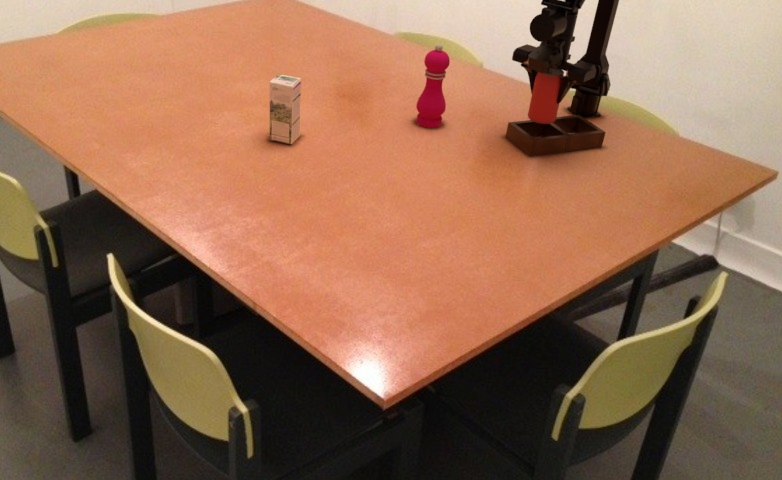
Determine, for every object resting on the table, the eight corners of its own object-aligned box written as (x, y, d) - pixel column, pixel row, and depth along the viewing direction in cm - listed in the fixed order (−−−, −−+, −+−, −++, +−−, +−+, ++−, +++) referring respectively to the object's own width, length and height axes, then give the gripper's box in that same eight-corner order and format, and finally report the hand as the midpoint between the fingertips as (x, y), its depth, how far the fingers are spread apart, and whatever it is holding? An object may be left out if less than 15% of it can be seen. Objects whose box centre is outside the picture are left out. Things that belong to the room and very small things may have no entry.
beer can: (523, 113, 186) (533, 65, 179) (550, 114, 186) (561, 65, 180) (531, 125, 180) (542, 75, 174) (558, 125, 181) (570, 76, 174)
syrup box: (300, 136, 183) (302, 77, 175) (291, 145, 179) (292, 85, 170) (278, 131, 185) (279, 72, 176) (268, 141, 180) (268, 81, 172)
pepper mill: (441, 130, 190) (453, 50, 179) (412, 126, 191) (422, 47, 180) (444, 119, 196) (455, 41, 185) (416, 115, 197) (425, 37, 186)
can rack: (575, 129, 196) (578, 114, 193) (601, 147, 187) (605, 132, 185) (505, 137, 189) (508, 122, 187) (529, 156, 181) (532, 140, 178)
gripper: (504, 28, 172) (493, 94, 181) (579, 50, 161) (562, 120, 170) (531, 19, 179) (519, 84, 187) (605, 40, 168) (587, 107, 177)
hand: (545, 98), depth 180 cm, fingers closed on beer can, 6 cm apart
